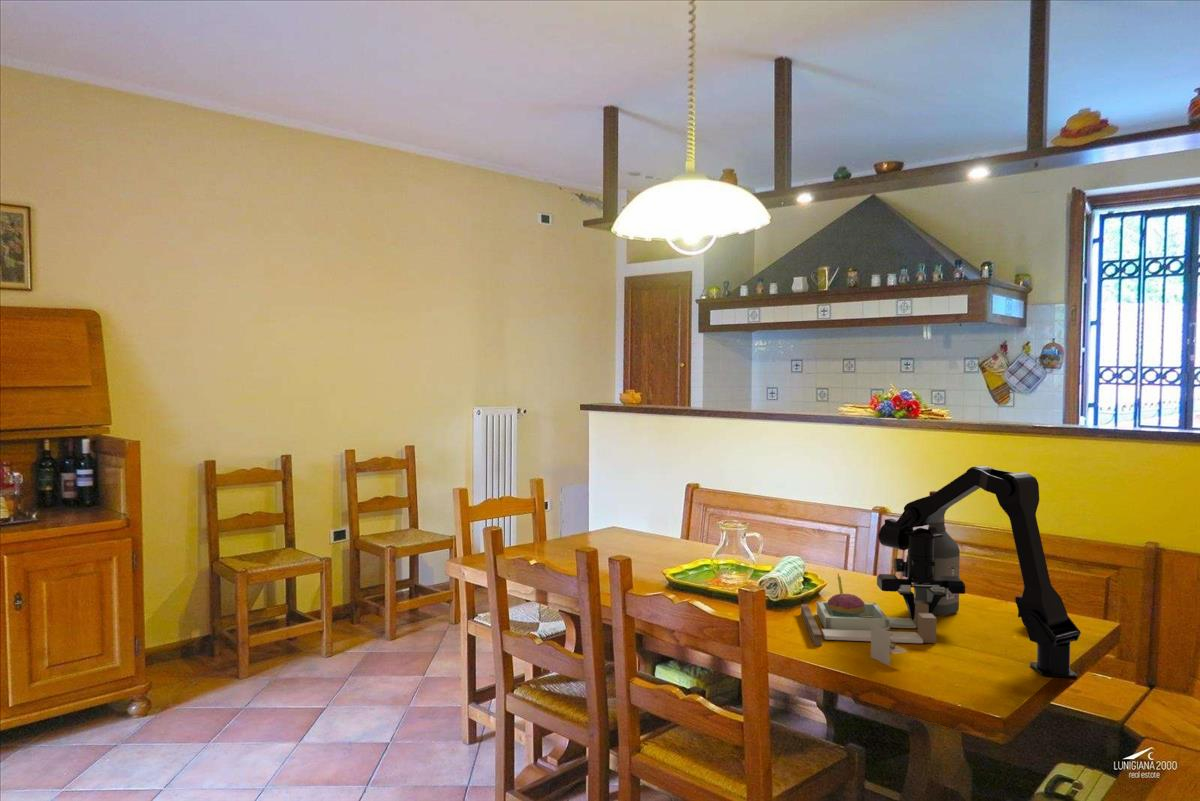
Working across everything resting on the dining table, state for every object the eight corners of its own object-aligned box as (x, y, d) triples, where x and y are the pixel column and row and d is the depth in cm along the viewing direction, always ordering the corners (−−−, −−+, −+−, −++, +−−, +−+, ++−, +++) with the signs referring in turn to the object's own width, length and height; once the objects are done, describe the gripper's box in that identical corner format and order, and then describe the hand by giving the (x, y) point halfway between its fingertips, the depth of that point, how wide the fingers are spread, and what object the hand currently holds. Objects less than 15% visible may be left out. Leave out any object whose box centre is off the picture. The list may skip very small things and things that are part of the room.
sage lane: (934, 634, 177) (934, 610, 177) (825, 630, 180) (825, 606, 180) (918, 616, 191) (918, 594, 190) (816, 613, 194) (817, 591, 193)
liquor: (963, 611, 196) (964, 493, 195) (941, 617, 191) (942, 496, 190) (931, 603, 203) (932, 488, 202) (908, 608, 198) (910, 491, 198)
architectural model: (883, 656, 166) (883, 622, 165) (906, 668, 159) (906, 632, 159) (870, 658, 165) (870, 623, 164) (893, 670, 158) (893, 634, 158)
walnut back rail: (821, 645, 171) (821, 635, 171) (814, 645, 171) (814, 634, 171) (807, 614, 194) (807, 604, 194) (800, 613, 194) (801, 604, 194)
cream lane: (937, 643, 171) (937, 619, 171) (824, 639, 174) (825, 615, 174) (930, 636, 176) (930, 612, 176) (821, 632, 179) (821, 608, 179)
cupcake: (824, 626, 184) (824, 575, 184) (831, 616, 192) (832, 568, 192) (862, 631, 180) (862, 580, 180) (867, 621, 188) (868, 572, 188)
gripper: (951, 547, 190) (950, 611, 191) (872, 545, 193) (871, 608, 193) (966, 558, 179) (965, 625, 180) (882, 556, 182) (881, 622, 182)
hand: (919, 619), depth 184 cm, fingers closed on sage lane, 3 cm apart
